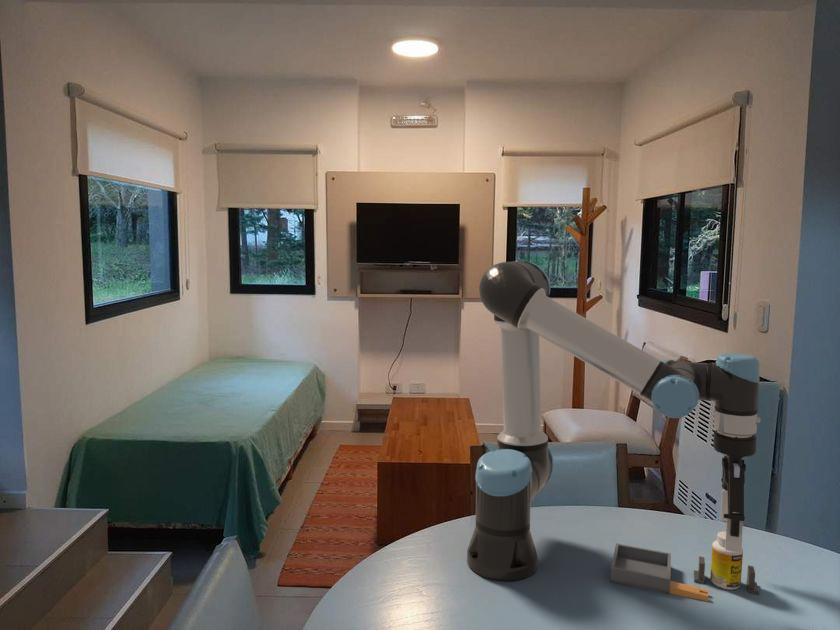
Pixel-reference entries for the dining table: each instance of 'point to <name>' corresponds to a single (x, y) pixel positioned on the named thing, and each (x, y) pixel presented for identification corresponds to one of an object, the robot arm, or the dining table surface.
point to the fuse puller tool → (688, 591)
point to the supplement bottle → (725, 565)
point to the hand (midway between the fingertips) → (730, 535)
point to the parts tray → (641, 568)
